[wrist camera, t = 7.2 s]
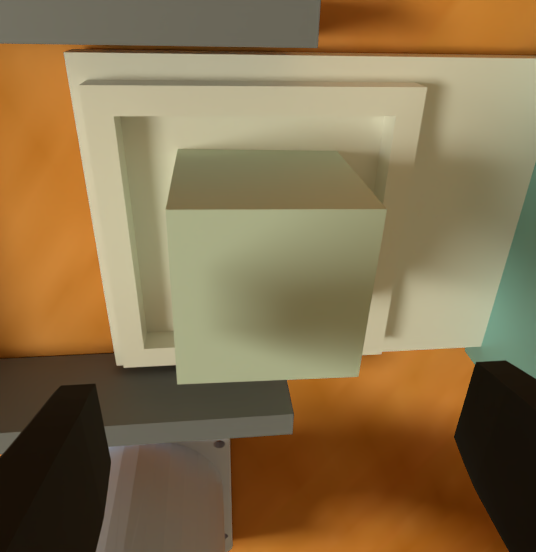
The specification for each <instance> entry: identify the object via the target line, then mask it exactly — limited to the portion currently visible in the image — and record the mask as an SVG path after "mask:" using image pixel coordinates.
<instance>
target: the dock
mask: <svg viewBox="0 0 536 552" xmlns="http://www.w3.org/2000/svg"><path fill="white" fill-rule="evenodd" d="M320 4H321V0H0V43H11V44H79V45H146V46H214V47H282V48H318V35H319V19H320ZM79 384H96V388H97V393H98V398H99V403H100V408H101V413H102V418H103V423H104V428H105V433H106V438H107V443H108V447H113V446H128V445H142V444H157V443H171V442H185V441H200V440H214V439H229V438H243V437H258V436H272V435H286V434H293V419H294V413H293V408H292V403H291V398H290V394H289V389H288V384H287V380H270V381H246V382H223V383H199V384H177V374H176V365H167V366H149V367H130V368H124V366H123V365H120V366H117V365H116V359H115V354H114V353H107V354H87V355H67V356H47V357H27V358H7V359H0V454H3V453H4V452H5V451H6V450H7V448H8V447H9V446H10V445H11V444H12V442H13V441H14V440H15V439H16V438H17V436H18V435H19V434H20V433H21V432H22V430H23V429H24V428H25V427H26V426H27V424H28V423H29V422H30V421H31V420H32V418H33V417H34V416H35V415H36V413H37V412H38V411H39V410H40V409H41V407H42V406H43V405H44V404H45V402H46V401H47V400H48V399H49V398H50V396H51V395H52V394H53V393H54V392H55V391H56V390H57V389H58V388H59V387H60V386H61V385H79Z"/></svg>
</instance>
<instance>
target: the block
mask: <svg viewBox="0 0 536 552" xmlns="http://www.w3.org/2000/svg"><path fill="white" fill-rule="evenodd" d="M386 212H387V209H386V208H385V206H384V205H383V204H382V203H381V202H380V201H379V199H378V198H377V197H376V196H375V195H374V194H373V192H372V191H371V190H370V189H369V188H368V187H367V185H366V184H365V183H364V182H363V181H362V180H361V178H360V177H359V176H358V175H357V174H356V173H355V171H354V170H353V169H352V168H351V167H350V166H349V164H348V163H347V162H346V161H345V160H344V159H343V157H342V156H341V155H340V154H339V153H338V152H337V151H306V150H222V149H178V150H177V155H176V160H175V165H174V170H173V175H172V180H171V185H170V190H169V195H168V200H167V205H166V224H167V239H168V254H169V269H170V284H171V299H172V314H173V329H174V344H175V359H176V374H177V384H199V383H223V382H246V381H270V380H293V379H317V378H340V377H358V376H359V370H360V364H361V358H362V352H363V346H364V341H365V335H366V329H367V323H368V317H369V311H370V305H371V300H372V294H373V288H374V282H375V276H376V270H377V265H378V259H379V253H380V247H381V241H382V235H383V229H384V224H385V218H386Z"/></svg>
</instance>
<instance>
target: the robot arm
mask: <svg viewBox="0 0 536 552" xmlns="http://www.w3.org/2000/svg"><path fill="white" fill-rule="evenodd" d="M454 438H455V441H456V443H457V446H458V449H459V451H460V454H461V456H462V459H463V462H464V464H465V467H466V469H467V472H468V474H469V476H470V479H471V481H472V483H473V486H474V488H475V490H476V492H477V494H478V495H479V497H480V499H481V501H482V503H483V505H484V507H485V508H486V510H487V512H488V514H489V516H490V518H491V520H492V521H493V523H494V525H495V527H496V529H497V531H498V532H499V534H500V536H501V538H502V540H503V541H504V543H505V545H506V547H507V549H508V550H509V552H536V379H535V378H534V377H532V376H530V375H529V374H527V373H526V372H524V371H523V370H521V369H519V368H518V367H516V366H514V365H513V364H511V363H509V362H508V361H506V360H502V361H484V362H476V364H475V367H474V370H473V374H472V377H471V381H470V384H469V387H468V391H467V394H466V398H465V401H464V405H463V408H462V411H461V415H460V418H459V422H458V425H457V428H456V432H455V435H454ZM218 440H221V441H220V442H218ZM232 546H233V541H232V500H231V458H230V438H229V439H214V440H200V441H185V442H171V443H157V444H142V445H128V446H113V447H108V443H107V438H106V433H105V428H104V423H103V418H102V413H101V408H100V403H99V398H98V393H97V388H96V384H79V385H61V386H60V387H59V388H58V389H57V390H56V391H55V392H54V393H53V394H52V395H51V396H50V398H49V399H48V400H47V401H46V402H45V404H44V405H43V406H42V407H41V409H40V410H39V411H38V412H37V413H36V415H35V416H34V417H33V418H32V420H31V421H30V422H29V423H28V424H27V426H26V427H25V428H24V429H23V430H22V432H21V433H20V434H19V435H18V436H17V438H16V439H15V440H14V441H13V442H12V444H11V445H10V446H9V447H8V448H7V450H6V451H5V452H4V453H3V454H2V455H1V456H0V552H228V551H230V550H231V549H232Z"/></svg>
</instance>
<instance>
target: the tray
mask: <svg viewBox="0 0 536 552" xmlns="http://www.w3.org/2000/svg"><path fill="white" fill-rule="evenodd" d="M64 57H65V63H66V69H67V75H68V81H69V87H70V93H71V99H72V105H73V111H74V117H75V123H76V129H77V134H78V140H79V146H80V152H81V158H82V164H83V170H84V176H85V182H86V188H87V194H88V200H89V206H90V211H91V217H92V223H93V229H94V235H95V241H96V247H97V253H98V259H99V265H100V271H101V277H102V283H103V288H104V294H105V300H106V306H107V312H108V318H109V324H110V330H111V336H112V342H113V348H114V354H115V359H116V365H117V366H120V365H123V366H124V368H130V367H149V366H167V365H176V359H175V344H174V329H173V314H172V299H171V284H170V269H169V254H168V239H167V224H166V205H167V200H168V195H169V190H170V185H171V180H172V175H173V170H174V165H175V160H176V155H177V150H178V149H222V150H306V151H337V152H338V153H339V154H340V155H341V156H342V157H343V159H344V160H345V161H346V162H347V163H348V164H349V166H350V167H351V168H352V169H353V170H354V171H355V173H356V174H357V175H358V176H359V177H360V178H361V180H362V181H363V182H364V183H365V184H366V185H367V187H368V188H369V189H370V190H371V191H372V192H373V194H374V195H375V196H376V197H377V198H378V199H379V201H380V202H381V203H382V204H383V205H384V206H385V208H386V209H387V212H386V218H385V224H384V229H383V235H382V241H381V247H380V253H379V259H378V265H377V270H376V276H375V282H374V288H373V294H372V300H371V305H370V311H369V317H368V323H367V329H366V335H365V341H364V346H363V352H362V355H375V354H382V352H386V351H405V350H425V349H444V348H463V347H466V348H465V352H466V353H467V354H468V356H469V357H470V358H471V360H472V361H473V363H474V364H476V362H484V361H502V360H506V361H508V362H509V363H511V364H513V365H514V366H516V367H518V368H519V369H521V370H523V371H524V372H526V373H527V374H529V375H530V376H532V377H534V378H535V379H536V55H467V54H394V53H322V52H249V51H177V50H104V49H71V50H68V51H66V52H64Z"/></svg>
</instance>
